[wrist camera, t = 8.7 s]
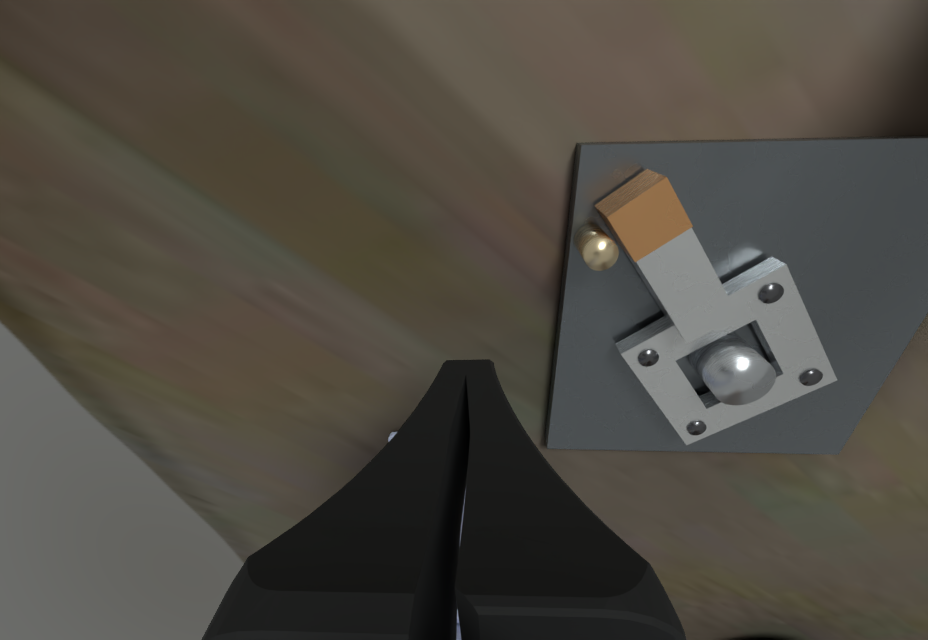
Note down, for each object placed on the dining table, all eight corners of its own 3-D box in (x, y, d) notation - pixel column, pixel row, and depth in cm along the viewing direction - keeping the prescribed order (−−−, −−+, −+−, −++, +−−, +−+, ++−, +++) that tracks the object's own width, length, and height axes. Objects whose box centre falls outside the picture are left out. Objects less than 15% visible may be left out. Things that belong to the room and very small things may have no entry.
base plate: (826, 442, 25) (875, 490, 22) (545, 437, 26) (553, 482, 23) (1009, 134, 16) (1133, 141, 13) (576, 142, 17) (596, 151, 14)
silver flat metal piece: (822, 368, 21) (854, 393, 19) (678, 432, 24) (695, 459, 22) (710, 123, 16) (741, 126, 14) (542, 242, 18) (548, 257, 16)
